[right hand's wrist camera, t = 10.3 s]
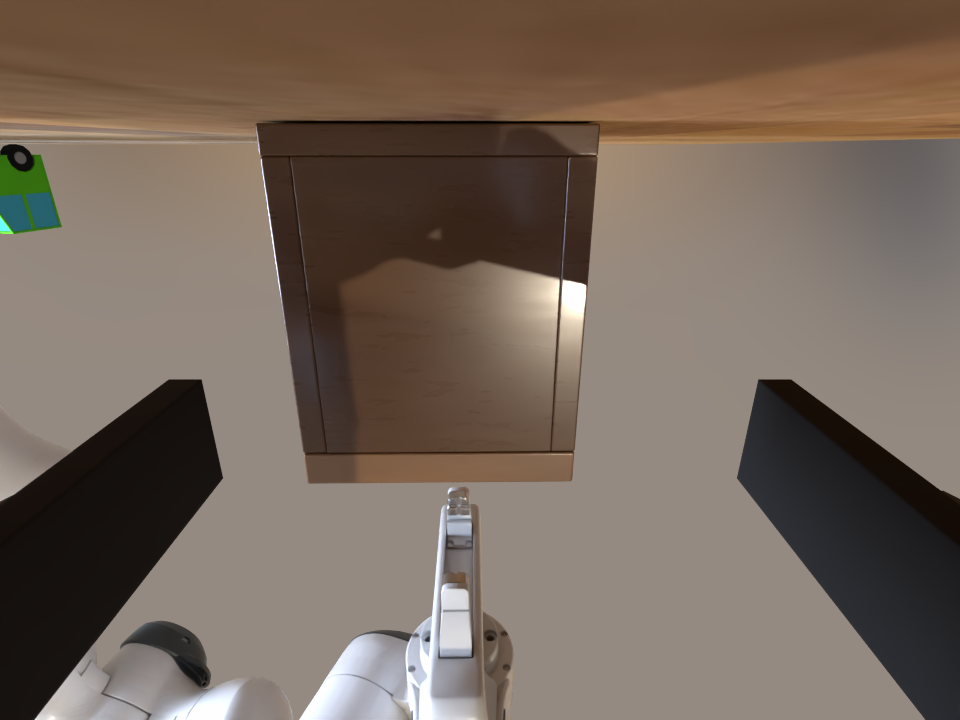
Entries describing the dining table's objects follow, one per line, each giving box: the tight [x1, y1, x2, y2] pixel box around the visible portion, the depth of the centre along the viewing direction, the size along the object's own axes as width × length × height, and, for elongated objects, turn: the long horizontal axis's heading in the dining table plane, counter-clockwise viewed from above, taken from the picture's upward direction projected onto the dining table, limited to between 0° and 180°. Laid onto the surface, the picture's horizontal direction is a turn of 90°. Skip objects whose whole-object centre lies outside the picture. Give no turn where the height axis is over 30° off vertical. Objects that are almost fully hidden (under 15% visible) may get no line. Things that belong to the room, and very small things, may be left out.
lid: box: [304, 450, 574, 483], centre depth 29 cm, size 18×10×9 cm, turn 179°
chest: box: [255, 123, 600, 453], centre depth 25 cm, size 17×10×11 cm, turn 179°
